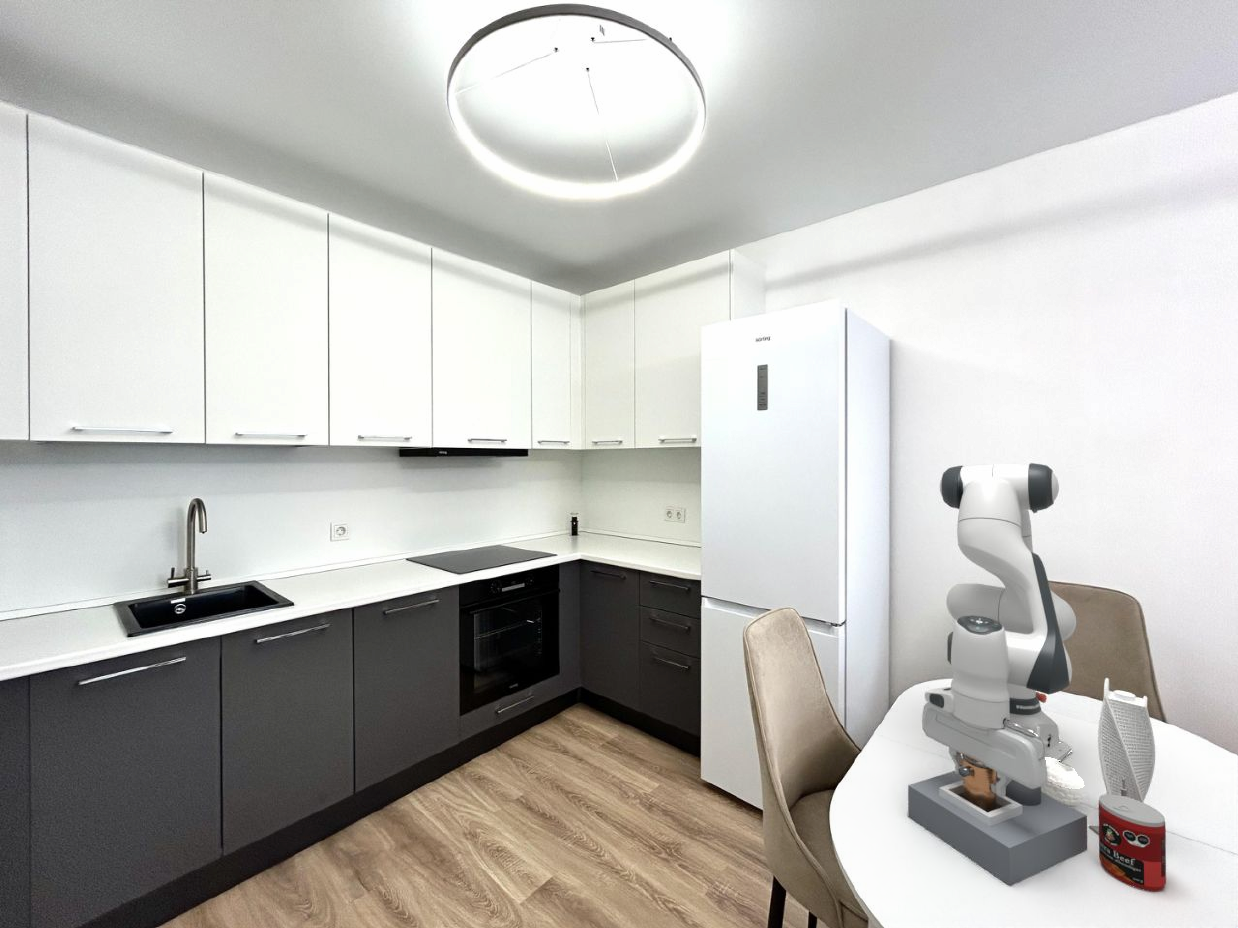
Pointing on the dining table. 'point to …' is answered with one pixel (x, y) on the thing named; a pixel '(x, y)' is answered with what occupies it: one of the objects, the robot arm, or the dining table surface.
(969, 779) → the spout can
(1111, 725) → the skyscraper
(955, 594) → the robot arm
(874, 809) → the dining table surface
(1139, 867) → the canned food
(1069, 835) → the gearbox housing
